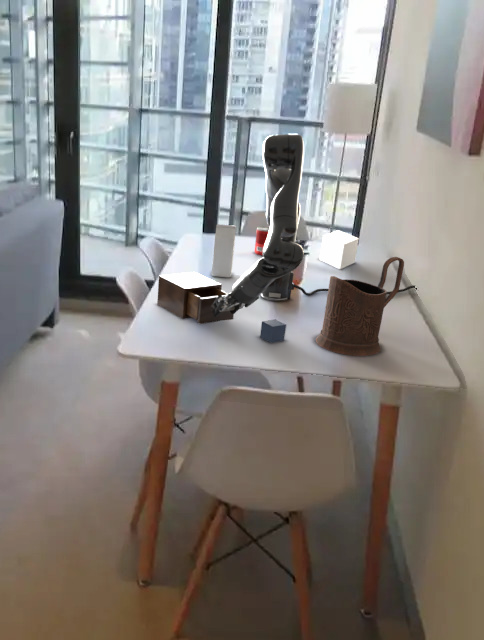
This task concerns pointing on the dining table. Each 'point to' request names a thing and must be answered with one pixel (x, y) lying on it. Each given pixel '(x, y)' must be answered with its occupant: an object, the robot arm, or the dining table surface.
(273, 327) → the block
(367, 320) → the cup holder
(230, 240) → the milk carton
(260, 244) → the canned food
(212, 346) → the dining table surface
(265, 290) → the robot arm
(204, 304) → the drawer
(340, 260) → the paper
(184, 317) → the cabinet
